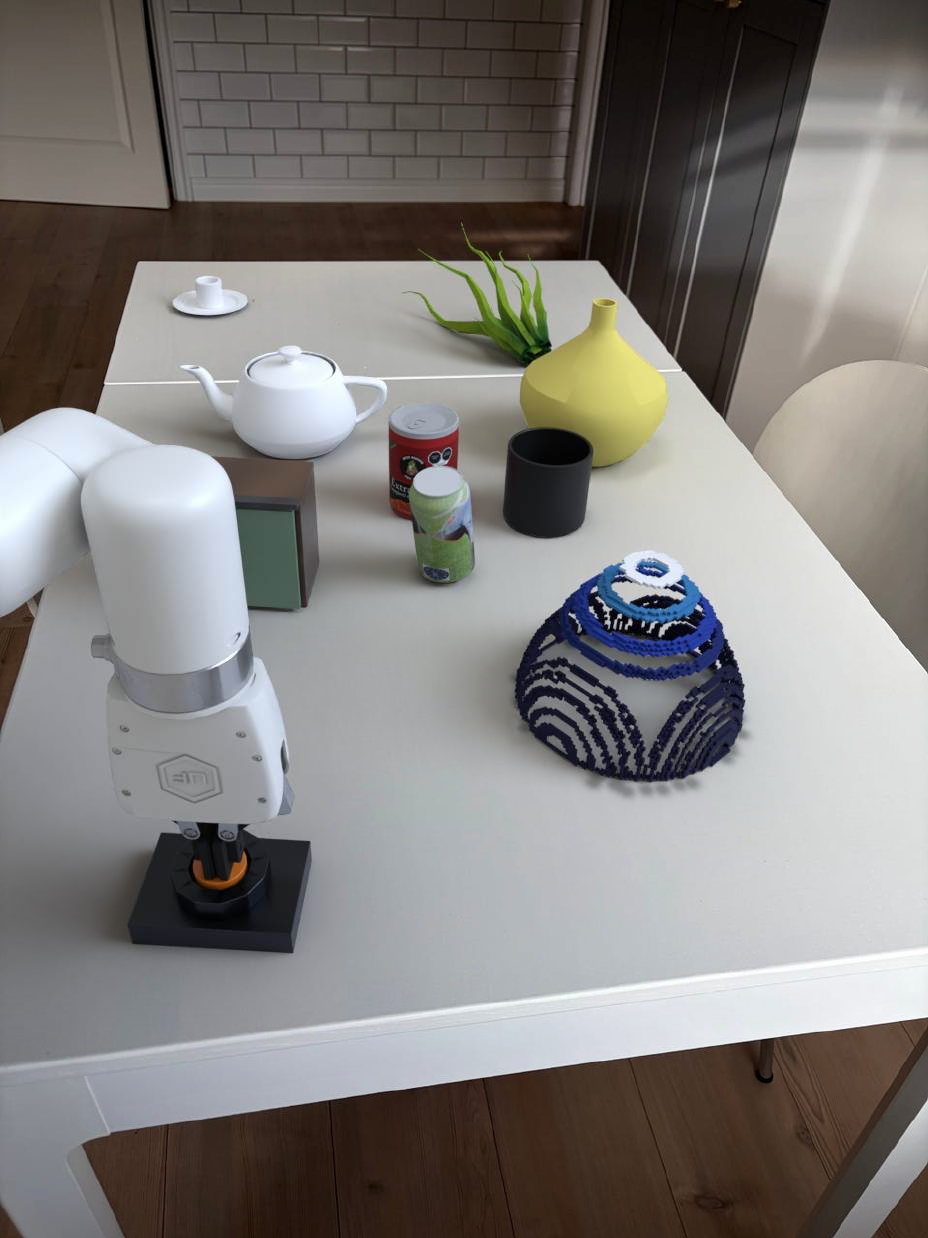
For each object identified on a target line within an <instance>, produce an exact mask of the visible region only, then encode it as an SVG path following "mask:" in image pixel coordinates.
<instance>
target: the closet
mask: <svg viewBox="0 0 928 1238" xmlns="http://www.w3.org/2000/svg"><path fill="white" fill-rule="evenodd" d="M210 456H211V457H212V458H213V459H215V460H216V461H217V462H218V463H219V464H220V465H221V466H222V467H223V468H224V470H225V472H226V473H227V475H228V477H229V480H230V482H231V485H232V490H233V496H234V502H235V507H249V508H267V509H286V510H294V517H295V530H296V544H297V557H298V571H299V584H300V598H301V607H300V608H307V607H308V604H309V600H310V597H311V593H312V590H313V587H314V583H315V579H316V576H317V573H318V568H319V564H320V549H319V548H320V547H319V533H318V532H319V531H318V515H317V500H316V482H315V480H316V479H315V464H314V463H315V462H314V461H309V460H308V461H307V460H305V461H304V460H292V459H271V458H269V459H268V458H251V457H235V456H234V457H233V456H216V455H210Z"/></svg>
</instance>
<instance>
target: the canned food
mask: <svg viewBox="0 0 928 1238" xmlns="http://www.w3.org/2000/svg"><path fill="white" fill-rule="evenodd" d="M457 413H458V412H456V411H455V410H454V409H452V408H451V407H448V406H446V405H443V404H439V403H433V402H414V403H409V404H405V405H402V406H400V407H397V408H396V409H394V410H393V411H392V412H391V413H390V414H389V418H388V497H389V498H388V499H389V503H390V506H391V508H392V510H393V512H395V513H396V514H398V515H399V516H401V517H403V518H405V519H409V520H412V517H411V509H410V501H409V490H410V488H411V486H412V484H413V480H414V478H415V476H416V475H417V474H418V473H419V472H421V471H422V470H424V469H426V468H429V467H434V466H448V467H452V468H454V469H456V470H458V465H459V464H458V463H459V444H460V443H459V441H460V418H459V415H458V414H457Z"/></svg>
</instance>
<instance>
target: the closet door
mask: <svg viewBox="0 0 928 1238" xmlns="http://www.w3.org/2000/svg"><path fill="white" fill-rule="evenodd" d="M235 510H236V518H237V527H238V535H239V543H240V552H241V560H242V568H243V576H244V585H245V593H246V601H247V607H260V608H279V609H293V610H294V609H296V610H297V609H298V610H300V609H301V608H302V607H301V598H300V584H299V571H298V557H297V544H296V530H295V517H294V510H286V509H267V508H249V507H235Z"/></svg>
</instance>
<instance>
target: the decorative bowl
mask: <svg viewBox="0 0 928 1238" xmlns="http://www.w3.org/2000/svg"><path fill="white" fill-rule="evenodd" d="M652 569H654V570H652ZM655 569H656V570H655ZM626 582H628V583H630V584H633V583H634V584H636V585H638V586H640V587H642V586H645V588H653V589H654V590H657V589H659V590H662V589H664V590H667V589H668V590H670V591H671V592H673V593H679V594H681V595H683V596H684V597H682V598H681V599H679V598H673V597H672V596H670V595H658V594H656V593H654V594H651V595H649V594H646V595H644V596H641V597H638V598H636V599H633V600H631V601H629V603H628V602H626V601H625V600H624V598H623V597H621V596H619V592H617V591H615V590H613V585H614V584H616V583H617V584H619V583H622V584H624V583H626ZM594 588H597V589H596V591H594V592H592V590H593V589H594ZM598 598H599V599H600V600H601V601H600V600H599V599H598ZM604 606H605V607H607V608H608V609H609V611H607V610H605V609H604ZM697 606H699V607H700V609H701V610H699V609H697ZM591 608H592V610H593V612H591V611H590V609H591ZM570 614H571V615H570ZM572 615H574V617H572ZM607 615H608V616H609V617H608V616H607ZM618 615H621V618H620V617H619V616H618ZM577 621H578V622H577ZM606 621H609V622H610V623H609V624H608V623H606ZM615 621H616V624H615ZM629 621H631V624H629ZM643 622H644V623H643ZM674 622H676V623H674ZM652 624H654V625H653V627H652V628H651V626H652ZM666 624H670V625H669V626H667V628H666V629H664V632H663V633H662V634H661V635H660V631H661V628H663V627H664V625H666ZM626 626H627V629H626ZM614 627H615V628H614ZM579 628H580V629H581V630H579ZM724 632H725V631H724V626H723V623H722V622H721V620H720V619H718V617H717V612H715V609H714V606H713V604H711V602H710V600H709V599H708V598H706V597H705V596H704V594H703V593H702V592H701V591H700V589H699V586H698V585H696V582H694V581H693V580H690V577H689V576H688V575H687V574H685V568H684V566H683V565H681V564H680V563H678V560H676V559H674V558H673V557H671V556H668V555H666V554H664V553H663V552H660V553H658V552H657V551H655V550H653V549H651V550H649V549H646V550H645V551H642V550H640V551H637V552H636V551H633V552H631V553H630V554H628V555H626V556H625V557H623V558H621V562H618V563H616V564H615V565H613V564H610V565H608V566H606V567H605V568H603V571H602V572H601V573H598V574H596V575H595V576H593V577H591V578H589V579H588V580H586V581H585V582H583V583H581V584H580V585H579V588H578V589H576V590H575V591H573V592H571V593H570V595H569V596H568V597H566V598H565V600H564V602H563V604H562V606H560V607H559V608H558V609H557V610H555V611H554V612H553V613H551V614H550V616H548V617H546V618H545V619H544V622H543V623H542V624H541V626H540V627H539V628H537V629H536V631H535V632H534V633H533V635H532V637H531V639H530V640H529V643H528V644H527V645H526V649H525V650H524V651H523V653H522V657H521V660H520V662H519V667H518V668H516V677H515V678H514V679H515V689H514V691H513V692H514V693H515V695H514V698H515V699H516V706H517V707H516V708H517V709H519V716H521V720H522V721H524V722H525V723H526V724H528V731H530V732H531V733H532V734H533V737H534V738H535V739H537V740H538V741H539V742H541V743H542V744H544V745H545V746H546V747H548V748H549V749H550V750H552V751H554V752H555V753H556V754H558V755H559V756H561V757H562V758H563V759H564V760H566V761H567V762H569V763H570V764H571V765H573V766H575V767H578V766H579V767H580V768H581V769H583V770H584V771H586V770H589V771H590V772H592V773H593V772H595V773H598V775H600V776H604V775H605V776H606V777H607V778H610V777H611V778H615V777H616V778H617V779H619V780H620V781H621V780H624V781H625V780H629V781H631V780H633V781H634V782H636V783H637V782H639V781H640V780H642V781H643V782H644V781H645V780H646V781H648V782H649V783H652V782H653V781H656V782H658V781H661V782H663V781H665V782H667V781H669V780H672V781H673V780H674V779H676V778H677V779H683V780H684V779H685V778H687V777H688V776H690V774H693V775H695V774H697V772H699V771H701V772H703V771H705V770H706V768H708V767H709V766H710V767H714V766H715V765H716V764H717V763H719V761H721V760H722V759H723V758H724V757H726V756H727V755H728V754H729V753H730V752H731V748H732V747H733V746H734V744H735V743H736V740H737V738H738V735H739V733H740V732H741V731H742V729H743V725H744V723H743V721H744V712H745V709H744V707H745V704H746V699H745V693H744V689H745V686H746V685H745V683H744V681H743V677H742V673H741V672H740V667H739V663H738V660H737V659H735V651H734V650H733V649H731V646H730V645H729V644H730V643H729V639H727V638H726V635H725V634H724ZM582 635H584V636H586V635H587V636H590V637H592V638H593V639H595V640H597V641H598V642H600V643H602V644H603V645H605V646H606V647H608V648H609V649H611V650H612V649H616V650H617V651H618V652H621V653H623V652H625V653H627V655H630V654H633V655H635V656H638V655H639V656H641V657H642V658H645V657H647V656H650V657H651V658H653V659H654V658H657V659H659V658H660V657H661V656H662V657H664V658H665V657H669V658H670V657H671V656H673V655H674V656H678V655H679V654H681V655H684V654H688V655H690V656H691V657H692V658H694V659H693V662H690V661H689V660H687V661H685V662H684V663H683V662H682V661H680V662H679V663H678V664H676V663H673V664H671V665H670V666H668V667H667V668H665V667H664V666H662V665H660V666H658V667H657V668H655V669H654V668H652V667H651V666H648V667H647V668H646V669H645V668H644V667H642V666H640V665H638V664H637V665H634V664H632V663H631V662H629V663H627V662H624V663H622V662H621V661H619V660H617V659H614V660H613V659H612V658H609V657H608V656H606V655H604V654H603V653H602V652H600V651H598V650H597V649H595V648H593V647H592V646H590V645H588V644H587V643H585V642H584V641H582V640H581V636H582ZM628 635H630V636H631V635H633V636H636V637H638V636H639V637H642V636H643V637H645V639H643V640H642V641H640V640H639V639H638V638H636V637H633V636H632V638H631V637H629V636H628ZM550 636H553V637H555V638H554V639H553V640H552V641H550V642H548V643H547V644H545V645H544V646H542V645H543V644H544V642H545V641H546V639H547V638H548V637H550ZM646 638H650V639H649V640H648V639H646ZM565 641H567V644H568V645H569V646H571V647H573V648H574V649H576V650H577V651H579V653H580V655H581V656H582V657H584V658H586V659H588V660H589V661H590V662H592V663H594V664H595V665H597V666H599V667H600V668H602V669H604V668H606V669H608V670H609V671H611V672H613V673H614V674H616V675H618V676H619V675H622V676H623V677H625V678H627V679H629V678H631V679H634V678H635V679H639V678H640V679H641V680H643V681H646V680H647V681H651V680H652V681H658V682H659V681H662V682H664V681H666V680H670V681H671V680H674V681H676V680H677V679H679V678H680V677H682V678H685V677H687V676H689V677H691V676H693V675H694V674H695V673H697V674H700V673H702V672H703V671H704V670H705V669H708V668H709V669H710V670H712V671H713V675H712V676H711V677H710V678H709V679H707V680H706V681H705V682H703V683H702V684H701V685H700V686H697V685H695V686H693V687H692V688H691V689H690V690H689V692H688V693H687V694H685V696H684V699H682V700H680V701H679V702H678V704H677V705H676V707H675V709H674V710H672V712H671V714H670V715H669V716H668V718H667V719H666V722H665V723H664V725H663V726H662V727H661V729H660V730H659V731H658V734H657V735H656V740H654V741H653V744H652V746H651V747H650V750H649V753H647V756H646V757H647V758H648V759H649V761H648V764H647V763H646V762H645V761H646V758H645V757H644V752H646V750H647V747H646V746H645V740H644V739H642V738H643V737H644V735H643V734H642V733H641V732H642V731H641V730H640V729H639V726H638V725H637V722H638V720H637V719H636V718H635V717H636V716H635V715H634V714H633V713H631V710H630V709H629V708H628V707H629V706H628V705H627V704H625V703H624V702H622V701H621V700H619V699H617V698H619V694H618V693H617V689H615V688H613V687H612V686H611V685H607V686H606V685H604V684H603V683H601V682H600V679H599V678H598V677H596V676H594V675H593V674H591V673H590V672H588V671H587V670H585V669H583V668H582V667H580V666H579V665H577V664H576V663H573V664H571V663H570V662H569V661H570V660H569V659H568V658H566V657H565V656H563V657H560V656H557V657H556V659H555V658H553V659H550V660H549V659H547V658H546V659H543V660H540V661H538V658H539V657H541V656H543V652H545V651H546V650H548V649H550V648H551V647H552V646H555V645H556V644H559V645H560V644H562V643H563V642H565ZM696 649H698V651H699V652H698V651H696ZM717 661H718V664H720V667H719V665H717ZM545 666H548V667H549V668H548V669H545V670H542V669H544V667H545ZM560 667H561V668H564V669H565V668H567V669H569V673H571V674H573V675H574V676H576V677H577V678H579V679H580V680H582V681H583V682H585V683H586V684H588V685H589V686H591V687H592V688H596V687H597V688H599V689H600V690H602V691H603V694H604V695H605V696H607V697H608V698H610V701H611V702H612V703H613V704H615V707H616V708H617V712H618V713H617V717H618V718H619V721H620V722H621V725H622V726H623V729H624V730H625V731H626V732H625V733H626V734H625V733H624V730H623V729H620V727H618V724H617V723H616V722H618V718H617V717H616V711H615V710H613V709H611V708H610V707H609V704H608V703H607V702H605V701H604V697H602V696H600V695H598V694H597V693H595V694H593V693H591V692H589V691H588V690H586V689H585V688H583V686H580V685H579V684H578V683H575V682H574V681H573V680H571V679H569V678H568V677H567V674H566V673H564V672H563V671H562V670H560V669H559V668H560ZM550 668H551V669H550ZM556 669H559V670H556ZM539 670H542V671H541V672H539ZM554 670H555V671H554ZM537 671H538V672H537ZM555 677H556V678H555ZM543 679H544V680H545V681H547V680H549V681H551V682H552V683H553V684H555V685H559V684H560V683H562V684H563V685H565V684H567V685H568V686H570V687H571V688H573V689H575V690H576V691H578V692H579V693H581V694H582V695H584V696H585V697H587V698H588V701H589V702H591V703H592V704H594V706H593V710H594V711H595V712H597V715H598V716H599V718H600V719H599V720H601V721H602V724H603V725H605V726H606V728H607V730H608V731H609V734H610V735H611V738H612V739H613V742H614V743H616V744H615V747H614V748H615V749H616V750H617V751H616V755H618V761H617V766H616V762H615V761H612V760H614V756H613V755H612V754H611V755H610V753H611V752H610V750H608V747H609V745H608V744H607V741H606V740H605V739H604V736H602V734H603V733H602V732H601V731H600V728H599V727H598V724H596V723H597V722H598V719H597V718H596V715H595V714H594V713H592V714H590V713H591V709H590V708H588V707H587V704H586V703H585V702H584V701H582V700H580V699H579V698H578V697H576V696H575V695H574V694H572V693H570V692H569V691H567V690H566V689H564V688H563V687H560V688H558V687H557V686H556V687H553V686H551V684H547V685H542V684H540V685H536V686H533V685H534V683H535V682H537V681H540V680H543ZM531 686H533V687H531ZM530 687H531V688H530ZM529 688H530V690H529ZM528 690H529V691H528ZM526 691H528V692H527V693H526ZM700 694H703V695H704V696H703V697H701V698H700V699H699V697H698V696H700ZM543 697H547V698H548V699H549V698H552V699H553V700H554V699H555V698H556V699H557V700H558V701H560V702H562V701H564V702H565V703H567V704H569V705H570V706H572V707H576V708H575V712H577V713H578V714H579V715H580V716H582V719H583V720H585V721H586V722H587V724H586V725H588V726H590V727H591V729H590V731H589V735H590V736H591V738H592V739H593V743H595V747H597V748H600V750H602V752H601V753H599V757H600V758H601V759H602V760H601V764H603V765H605V766H604V768H603V767H601V768H599V766H596V764H597V758H596V757H595V754H593V748H592V747H591V744H590V743H589V740H588V739H587V736H586V735H585V732H584V731H583V730H581V729H580V726H579V725H578V722H577V721H576V720H574V719H573V718H571V717H570V716H568V715H566V714H565V712H562V711H561V710H560V709H558V708H556V707H555V708H553V707H551V706H550V707H547V706H541V707H539V708H538V707H537V708H535V709H533V710H532V712H530V709H531V708H533V706H534V705H536V703H537V702H539V699H541V698H543ZM691 698H692V700H689V699H691ZM724 698H725V700H724ZM722 700H724V701H722ZM721 701H722V702H721ZM720 702H721V704H720V706H721V707H720V708H718V709H717V710H716V711H715V712H714V713H713V712H712V711H711V712H709V711H710V710H711V709H712V708H713V707H714V706H716V705H717V704H718V703H720ZM730 705H731V707H732V708H730V709H729V710H728V711H727V712H725V711H726V710H727V708H728V706H730ZM600 706H601V707H600ZM694 706H695V707H694ZM702 706H704V707H703V708H701V707H702ZM693 708H695V709H696V710H695V711H693V714H692V717H690V718H689V719H688V722H687V723H686V724H684V726H683V728H681V731H680V732H679V734H678V735H677V736H676V739H675V740H674V741H673V745H672V746H671V747H670V751H669V752H668V753H667V757H666V758H665V759H664V764H663V765H661V769H660V771H659V770H658V765H659V764H660V763H661V759H662V754H661V753H664V752H665V749H666V748H667V747H668V743H669V742H670V741H671V738H673V736H674V732H676V727H675V726H676V724H677V725H679V724H681V723H682V722H683V720H684V719H685V718H686V715H687V714H689V713H690V712H691V711H692V709H693ZM529 712H530V713H529ZM625 714H626V715H625ZM678 714H679V715H678ZM549 715H550V717H554V716H555V717H556V718H558V719H559V720H561V721H562V722H563V723H565V724H567V726H569V727H571V729H574V730H573V731H574V732H575V733H576V736H577V737H578V740H579V741H580V742H581V743H582V748H583V749H584V752H585V753H586V759H585V760H584V759H581V760H580V758H579V756H578V751H579V750H578V748H576V746H577V745H576V744H574V741H573V740H572V736H570V735H569V734H567V733H566V732H565V731H563V730H562V729H560V728H558V727H557V726H556V725H554V724H553V723H551V722H546V721H543V722H540V723H539V725H537V721H539V719H540V718H541V717H542V716H544V717H546V716H549ZM713 717H714V718H716V720H715V721H714V722H713V723H712V724H710V725H709V726H708V727H707V728H706V730H705V731H703V730H702V729H703V727H704V726H705V725H706V724H707V723H708V721H709V720H710V719H711V718H713ZM728 718H730V719H728ZM732 718H734V720H731V719H732ZM726 719H728V720H727V721H726V722H725V723H723V721H725V720H726ZM721 723H723V724H722V725H720V724H721ZM536 725H537V726H536ZM719 725H720V726H719ZM631 726H632V727H633V728H632V727H631ZM718 726H719V727H718ZM717 727H718V728H717ZM715 728H717V729H716V730H715ZM711 733H712V735H711ZM626 735H629V736H628V737H627V740H629V744H630V745H631V748H632V749H634V750H635V752H634V753H633V757H632V759H633V760H634V766H635V767H636V770H635V773H634V771H633V770H632V769H630V766H629V765H627V764H628V761H629V757H630V756H631V755H632V751H630V750H628V749H627V748H626V742H624V739H626ZM697 735H699V736H700V737H699V740H697V742H696V744H695V745H694V748H693V749H692V750H690V749H689V747H690V746H692V743H693V742H694V740H695V738H696V737H697ZM550 737H555V738H556V739H557V740H559V741H560V744H561V745H562V748H563V749H564V751H563V750H561V749H560V748H558V746H555V745H554V744H553V743H552V742H550V741H549V740H548V738H550ZM707 738H708V740H707ZM686 740H688V741H687V742H686ZM706 740H707V741H706ZM705 742H706V743H705ZM704 743H705V744H704ZM681 744H684V745H683V747H682V748H681V747H680V745H681ZM720 746H721V747H722V748H721V749H720V750H719V747H720ZM699 751H700V752H699ZM660 752H661V753H660ZM697 754H698V756H697ZM619 756H620V757H619ZM696 756H697V758H696ZM676 759H677V761H676ZM672 760H673V761H672ZM674 761H676V762H674ZM683 761H684V762H683ZM693 761H695V762H694V766H693ZM618 766H619V770H618ZM692 766H693V767H692ZM648 769H649V770H650V771H649V774H647V773H648ZM679 769H680V770H679ZM617 771H618V772H617Z"/></svg>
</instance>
